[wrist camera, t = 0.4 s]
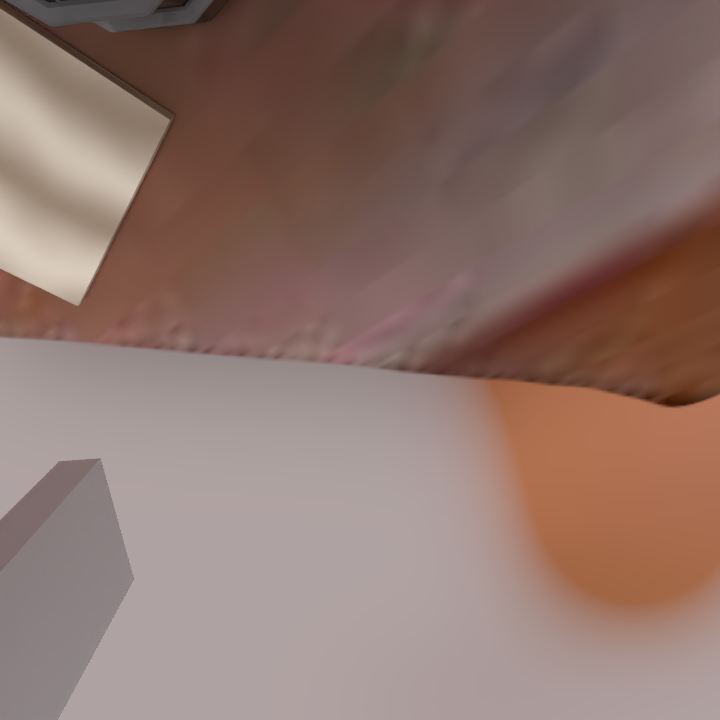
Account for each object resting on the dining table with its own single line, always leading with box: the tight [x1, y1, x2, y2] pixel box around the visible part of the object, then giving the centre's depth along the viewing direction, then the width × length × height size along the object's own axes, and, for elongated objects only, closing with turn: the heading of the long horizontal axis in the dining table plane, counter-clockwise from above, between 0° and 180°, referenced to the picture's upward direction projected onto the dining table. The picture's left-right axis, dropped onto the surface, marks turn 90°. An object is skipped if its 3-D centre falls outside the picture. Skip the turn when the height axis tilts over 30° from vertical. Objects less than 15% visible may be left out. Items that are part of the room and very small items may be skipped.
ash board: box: [0, 0, 175, 306], centre depth 31 cm, size 14×12×1 cm
